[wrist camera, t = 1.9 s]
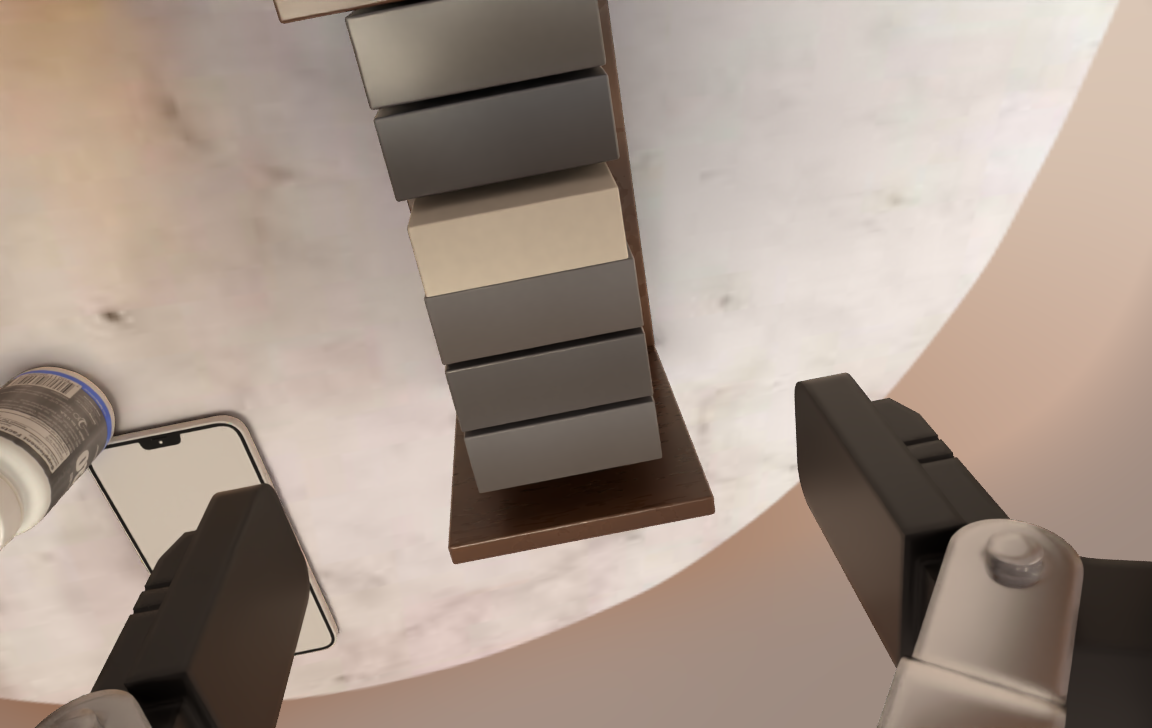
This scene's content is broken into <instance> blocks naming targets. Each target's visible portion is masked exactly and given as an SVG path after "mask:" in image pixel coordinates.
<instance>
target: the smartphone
mask: <svg viewBox="0 0 1152 728" xmlns="http://www.w3.org/2000/svg"><path fill="white" fill-rule="evenodd" d="M88 469H89V471H90V473H91V475H92V476H93V478H94V480H95V481H96V483H97V485H98V487H99V488H100V490H101V492H102V493H103V495H104V497H105V499H106V500H107V502H108V504H109V505H110V507H111V509H112V511H113V512H114V514H115V516H116V517H117V519H118V521H119V523H120V524H121V526H122V528H123V529H124V531H125V533H126V534H127V536H128V538H129V540H130V541H131V543H132V545H133V546H134V548H135V550H136V552H137V553H138V555H139V557H140V558H141V560H142V562H143V564H144V565H145V567H146V569H147V570H148V572H149V574H150V575H151V573H152V571H153V569H154V567H155V565H156V563H157V561H158V559H159V558H160V557H161V556H162V555H163V554H164V553H165V552H166V551H167V550H168V549H169V548H170V547H171V546H172V545H173V544H174V543H175V542H176V541H177V540H178V539H179V538H180V537H181V536H182V535H183V534H184V533H185V532H189V531H194V530H196V529H197V527H198V525H199V523H200V521H201V519H202V517H203V514H204V512H205V510H206V508H207V506H208V504H209V502H210V500H211V498H212V496H213V495H214V494H215V493H217V492H222V491H227V490H232V489H237V488H243V487H248V486H253V485H258V484H263V483H267V484H269V485H271V486H272V487H273V488H274V486H273V484H272V482H271V480H270V477H269V475H268V473H267V471H266V469H265V466H264V464H263V462H262V460H261V458H260V455H259V453H258V451H257V449H256V446H255V444H254V442H253V440H252V438H251V435H250V433H249V431H248V429H247V427H246V426H245V425H244V423H243V422H241V421H240V420H239V419H237V418H235V417H232V416H227V415H220V416H214V417H209V418H204V419H199V420H194V421H189V422H184V423H179V424H174V425H169V426H164V427H159V428H154V429H149V430H144V431H139V432H134V433H129V434H124V435H119V436H114V437H112V438H111V440H110V441H109V443H108V444H107V446H106V447H105V448H104V450H103V451H102V452H101V453H100V454H99V455H98V456H97V457H96V459H95V460H94V461H93V462H92V463H91V464H90V465H89V467H88ZM274 490H275V489H274ZM275 492H276V491H275ZM277 496H278V495H277ZM278 498H279V497H278ZM281 505H282V504H281ZM282 507H283V506H282ZM283 509H284V508H283ZM284 512H285V511H284ZM285 514H286V513H285ZM286 516H287V515H286ZM287 519H288V517H287ZM288 521H289V520H288ZM289 523H290V522H289ZM290 525H291V524H290ZM291 528H292V526H291ZM292 530H293V528H292ZM293 532H294V531H293ZM294 535H295V533H294ZM295 537H296V535H295ZM296 539H297V537H296ZM297 542H298V539H297ZM298 544H299V542H298ZM299 546H300V544H299ZM300 549H301V551H302V548H301V546H300ZM302 553H303V551H302ZM303 555H304V553H303ZM304 558H305V561H306V564H307V568H308V573H309V582H310V593H309V600H308V605H307V609H306V612H305V616H304V620H303V624H302V628H301V632H300V635H299V639H298V643H297V647H296V651H295V654H294V656H297V655H302V654H307V653H312V652H317V651H322V650H326V649H328V648H330V647H332V646H333V645H334V644H335V643H336V639H337V634H338V629H337V626H336V624H335V621H334V619H333V617H332V615H331V613H330V610H329V608H328V606H327V604H326V602H325V599H324V597H323V595H322V593H321V590H320V588H319V586H318V584H317V582H316V579H315V577H314V575H313V573H312V571H311V568H310V566H309V564H308V562H307V559H306V557H305V555H304Z"/></svg>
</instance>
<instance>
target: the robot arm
mask: <svg viewBox="0 0 1152 728" xmlns="http://www.w3.org/2000/svg"><path fill="white" fill-rule="evenodd" d="M795 418H796V441H797V463H798V473H799V478H800V483H801V487H802V490H803V493H804V496H805V499H806V502H807V504H808V506H809V508H810V510H811V512H812V513H813V515H814V517H815V519H816V521H817V523H818V524H819V526H820V528H821V530H822V532H823V534H824V536H825V537H826V539H827V541H828V543H829V545H830V547H831V548H832V550H833V552H834V554H835V556H836V558H837V559H838V561H839V563H840V565H841V567H842V569H843V571H844V573H845V574H846V576H847V578H848V580H849V582H850V583H851V585H852V587H853V589H854V591H855V593H856V595H857V597H858V598H859V600H860V602H861V604H862V606H863V608H864V609H865V611H866V613H867V615H868V617H869V619H870V620H871V622H872V624H873V626H874V628H875V630H876V632H877V633H878V635H879V637H880V639H881V641H882V643H883V644H884V646H885V648H886V650H887V652H888V653H889V656H890V657H891V659H892V661H893V663H894V664H895V667H896V668H897V669H896V672H895V675H894V678H893V681H892V684H891V687H890V690H889V693H888V696H887V699H886V702H885V705H884V708H883V711H882V714H881V717H880V720H879V723H878V726H877V728H1152V562H1147V561H1127V560H1107V559H1094V558H1086V557H1081V556H1079V555H1078V554H1077V552H1076V551H1075V550H1074V549H1073V548H1072V546H1071V545H1070V544H1068V543H1067V542H1066V541H1065V540H1064V539H1062V538H1061V537H1059V536H1058V535H1056V534H1055V533H1053V532H1051V531H1049V530H1047V529H1045V528H1042V527H1040V526H1037V525H1034V524H1031V523H1027V522H1023V521H1018V520H1012V519H1010V518H1009V517H1008V516H1007V515H1006V514H1005V512H1004V511H1003V510H1002V509H1001V508H1000V507H999V506H998V504H997V503H996V502H995V501H994V500H993V499H992V497H991V496H990V495H989V494H988V493H987V492H986V490H985V489H984V488H983V487H982V486H981V485H980V484H979V483H978V481H977V480H976V479H975V478H974V477H973V475H972V474H971V473H970V472H969V471H968V470H967V468H966V467H965V466H964V465H963V464H962V463H961V462H960V460H959V459H958V458H954V456H953V452H952V451H951V450H950V449H949V448H948V447H947V445H946V444H945V443H944V442H943V441H942V440H939V439H938V435H937V434H936V433H935V432H934V430H933V429H932V428H931V427H930V426H929V425H928V423H927V422H926V421H925V420H924V419H923V418H922V416H921V415H920V414H918V413H917V412H915V411H913V410H911V409H909V408H907V407H905V406H904V405H901V404H900V403H898V402H896V401H894V400H892V399H890V398H887V399H881V400H876V401H870V399H869V398H868V397H867V395H866V394H865V393H864V392H863V390H862V389H861V388H860V387H859V385H858V384H857V383H856V381H855V380H854V379H853V378H852V377H851V375H850V374H848V373H841V374H836V375H831V376H826V377H821V378H815V379H810V380H805V381H800V382H797V383H796V386H795ZM309 593H310V582H309V573H308V568H307V564H306V561H305V558H304V555H303V553H302V551H301V549H300V546H299V544H298V542H297V539H296V537H295V535H294V532H293V530H292V528H291V525H290V523H289V521H288V519H287V516H286V514H285V512H284V509H283V507H282V505H281V502H280V500H279V498H278V496H277V493H276V492H275V490H274V488H273V487H272V486H271V485H269V484H267V483H263V484H258V485H253V486H248V487H243V488H237V489H232V490H227V491H222V492H217V493H215V494H214V495H213V496H212V498H211V500H210V502H209V504H208V506H207V508H206V510H205V512H204V514H203V517H202V519H201V521H200V523H199V525H198V527H197V529H196V530H194V531H189V532H185V533H184V534H183V535H182V536H181V537H180V538H179V539H178V540H177V541H176V542H175V543H174V544H173V545H172V546H171V547H170V548H169V549H168V550H167V551H166V552H165V553H164V554H163V555H162V556H161V557H160V558H159V559H158V561H157V563H156V565H155V567H154V569H153V571H152V573H151V575H150V577H149V579H148V581H147V583H146V585H145V591H144V592H142V593H141V594H140V596H139V598H138V600H137V602H136V604H135V606H134V608H133V610H134V614H132V615H130V616H129V618H128V620H127V622H126V624H125V626H124V628H123V630H122V632H121V634H120V636H119V638H118V640H117V641H116V643H115V645H114V647H113V649H112V651H111V653H110V655H109V657H108V659H107V661H106V663H105V665H104V667H103V669H102V671H101V673H100V675H99V677H98V679H97V681H96V683H95V685H94V686H93V688H92V690H91V692H90V693H89V694H86V695H83V696H81V697H79V698H77V699H75V700H72V701H71V702H69V703H67V704H65V705H63V706H62V707H60V708H59V709H57V710H56V711H54V712H53V713H51V714H50V715H49V716H48V717H46V718H45V719H44V720H43V721H41V722H40V723H39V724H38V725H37V726H36V727H35V728H275V727H276V723H277V719H278V716H279V712H280V708H281V704H282V700H283V697H284V693H285V689H286V685H287V681H288V677H289V674H290V670H291V666H292V662H293V658H294V654H295V651H296V647H297V643H298V639H299V635H300V632H301V628H302V624H303V620H304V616H305V612H306V609H307V605H308V600H309Z"/></svg>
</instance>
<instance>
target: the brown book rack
mask: <svg viewBox="0 0 1152 728" xmlns="http://www.w3.org/2000/svg"><path fill="white" fill-rule="evenodd" d="M273 2H274V5H275V8H276V12H277V15H278V18H279V21H280V22H281V23H283V24H285V23H290V22H295V21H301V20H306V19H311V18H316V17H321V16H326V15H332V14H337V13H342V12H347V11H352V10H355V11H354V12H352V13H351V14H350V15H348V16H347V17H346V18H345V22H346V25H347V29H348V32H349V36H350V39H351V43H352V46H353V50H354V53H355V57H356V60H357V64H358V67H359V71H360V75H361V78H362V82H363V85H364V89H365V92H366V96H367V99H368V103H369V106H370V108H371V109H372V110H375V109H379V111H378V113H377V114H376V116H375V118H374V124H375V128H376V131H377V135H378V138H379V142H380V145H381V149H382V152H383V156H384V159H385V163H386V166H387V170H388V173H389V177H390V180H391V184H392V188H393V191H394V195H395V198H396V200H397V201H398V202H400V201H405V200H407V202H408V205H409V209H410V213H411V211H412V208H413V204H414V200H415V198H421V197H426V196H431V195H436V194H441V193H446V192H452V191H457V190H462V189H467V188H472V187H477V186H483V185H488V184H493V183H498V182H503V181H509V180H514V179H519V178H524V177H529V176H534V175H540V174H545V173H550V172H555V171H560V170H565V169H571V168H576V167H581V166H586V165H591V164H596V163H602V162H606V164H607V166H608V168H609V170H610V172H611V174H612V176H613V178H614V180H615V182H616V184H617V187H618V189H619V196H620V203H621V210H622V217H623V223H624V230H625V237H626V244H627V251H628V258H627V259H622V260H617V261H612V262H607V263H602V264H596V265H591V266H586V267H581V268H576V269H571V270H566V271H560V272H555V273H550V274H545V275H540V276H535V277H529V278H524V279H519V280H514V281H509V282H504V283H498V284H493V285H488V286H483V287H478V288H473V289H467V290H462V291H457V292H452V293H447V294H442V295H437V296H431V297H427V296H426V294H425V297H424V301H425V304H426V308H427V311H428V315H429V318H430V322H431V325H432V329H433V332H434V336H435V339H436V343H437V346H438V350H439V354H440V357H441V361H442V364H443V365H446V367H445V374H446V378H447V382H448V385H449V389H450V392H451V396H452V399H453V403H454V406H455V410H456V427H455V444H454V460H453V477H452V494H451V511H450V527H449V544H448V549H449V552H450V555H451V558H452V562H453V563H454V564H459V563H465V562H470V561H475V560H480V559H485V558H490V557H495V556H500V555H506V554H511V553H516V552H521V551H526V550H531V549H536V548H542V547H547V546H552V545H557V544H562V543H567V542H572V541H578V540H583V539H588V538H593V537H598V536H603V535H608V534H613V533H619V532H624V531H629V530H634V529H639V528H644V527H649V526H655V525H660V524H665V523H670V522H675V521H680V520H685V519H691V518H696V517H701V516H706V515H711V514H714V513H715V506H714V497H713V494H712V491H711V489H710V486H709V484H708V481H707V479H706V476H705V473H704V471H703V468H702V466H701V463H700V461H699V458H698V456H697V453H696V450H695V448H694V445H693V443H692V440H691V438H690V435H689V432H688V430H687V427H686V425H685V422H684V420H683V417H682V414H681V412H680V409H679V407H678V404H677V402H676V399H675V397H674V394H673V391H672V389H671V386H670V384H669V381H668V379H667V376H666V373H665V371H664V368H663V366H662V363H661V361H660V358H659V355H658V353H657V350H656V348H655V343H654V336H653V329H652V321H651V314H650V307H649V299H648V292H647V285H646V278H645V270H644V263H643V256H642V248H641V241H640V234H639V227H638V219H637V212H636V205H635V197H634V190H633V183H632V176H631V168H630V161H629V154H628V146H627V139H626V132H625V125H624V117H623V110H622V103H621V95H620V88H619V81H618V74H617V66H616V59H615V52H614V44H613V37H612V30H611V23H610V15H609V8H608V1H607V0H273Z"/></svg>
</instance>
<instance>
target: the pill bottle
mask: <svg viewBox="0 0 1152 728" xmlns="http://www.w3.org/2000/svg"><path fill="white" fill-rule="evenodd" d="M114 428H115V417H114V412H113V409H112V406H111V404H110V402H109V401H108V399H107V398H106V396H105V395H104V394H103V392H102V391H101V390H100V389H99V388H98V387H97V386H96V385H95V384H93V383H92V382H91V381H89V380H88V379H87V378H85V377H83V376H82V375H80V374H78V373H76V372H73V371H70V370H66V369H63V368H57V367H39V368H34V369H31V370H28V371H25V372H23V373H21V374H19V375H17V376H16V377H14V378H13V379H12V380H10V381H9V382H7V383H6V384H5V385H4V386H3V387H1V388H0V550H1V549H2V548H3V547H4V546H5V545H6V544H7V543H9V542H10V541H11V540H12V539H13V538H14V536H17V535H19V534H22V533H24V532H26V531H28V530H29V529H31V528H32V527H34V526H35V525H36V524H38V523H39V522H40V521H41V520H42V519H43V518H44V517H45V516H46V515H47V513H48V512H49V511H50V510H51V509H52V507H53V506H54V505H55V504H56V503H57V502H58V500H59V499H60V498H61V497H62V496H63V495H64V494H65V492H67V491H68V490H69V488H70V487H71V486H72V485H73V483H74V482H75V481H76V480H77V479H78V478H79V477H80V476H81V475H82V474H83V473H84V471H85V470H86V469H87V468H88V467H89V465H90V464H91V463H92V462H93V461H94V460H95V459H96V457H97V456H98V455H99V454H100V453H101V452H102V451H103V450H104V448H105V447H106V446H107V444H108V443H109V441H110V440H111V438H112V436H113V433H114Z"/></svg>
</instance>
